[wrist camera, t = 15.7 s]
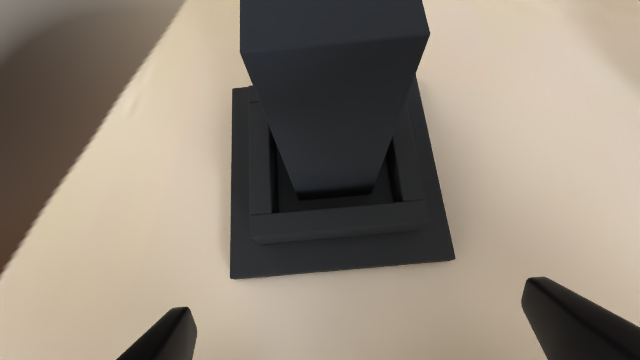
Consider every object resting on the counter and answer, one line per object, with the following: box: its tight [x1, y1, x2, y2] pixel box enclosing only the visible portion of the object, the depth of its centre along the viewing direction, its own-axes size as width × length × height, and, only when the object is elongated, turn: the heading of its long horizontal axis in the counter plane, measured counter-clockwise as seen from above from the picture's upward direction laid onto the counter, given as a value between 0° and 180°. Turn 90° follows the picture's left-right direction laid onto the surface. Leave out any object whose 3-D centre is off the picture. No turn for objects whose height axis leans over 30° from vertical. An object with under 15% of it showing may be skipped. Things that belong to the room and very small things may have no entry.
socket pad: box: [230, 74, 455, 279], centre depth 20 cm, size 13×13×4 cm
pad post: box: [240, 0, 430, 201], centre depth 14 cm, size 4×4×13 cm
